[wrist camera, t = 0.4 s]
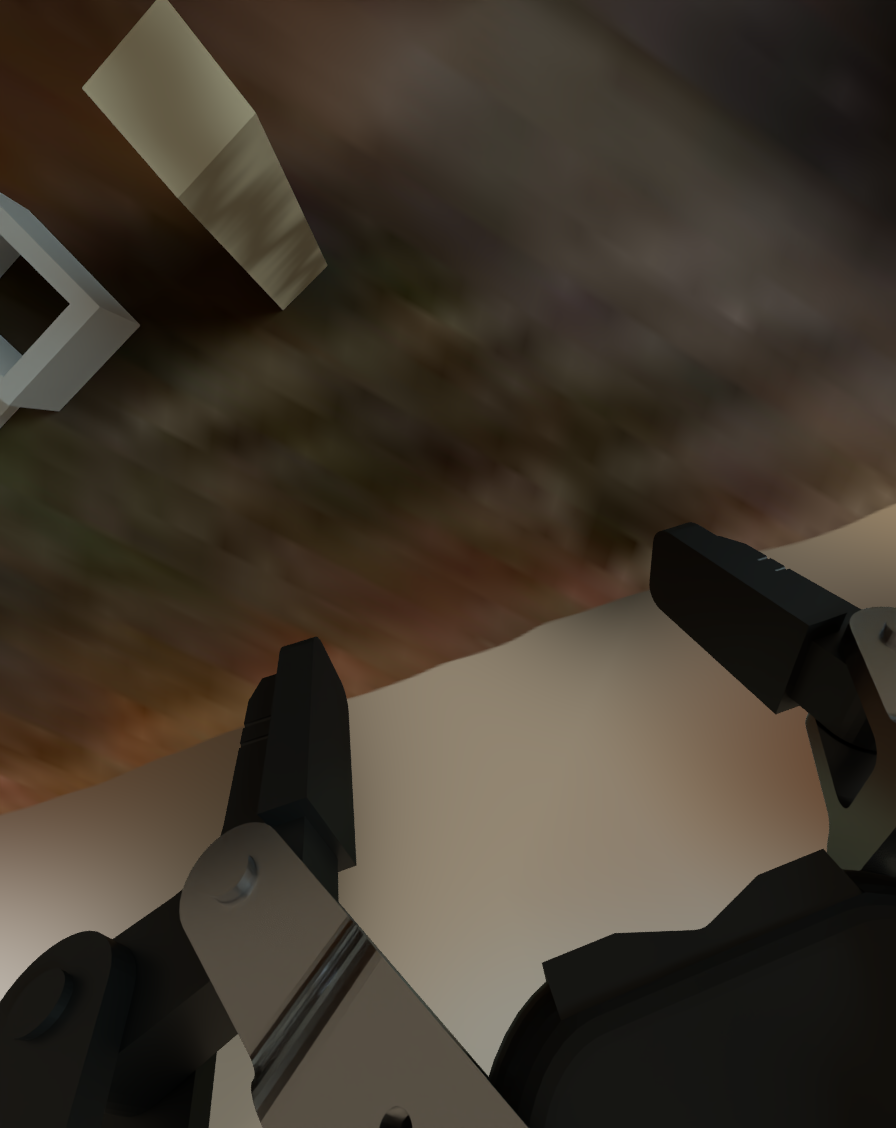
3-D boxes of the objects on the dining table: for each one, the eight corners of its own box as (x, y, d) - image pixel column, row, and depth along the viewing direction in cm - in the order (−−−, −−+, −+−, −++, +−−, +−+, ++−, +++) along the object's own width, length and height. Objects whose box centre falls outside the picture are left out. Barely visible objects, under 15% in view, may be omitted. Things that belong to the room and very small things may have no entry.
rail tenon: (280, 207, 29) (162, -7, 15) (327, 265, 30) (255, 112, 16) (235, 255, 29) (81, 87, 16) (282, 310, 30) (177, 197, 17)
